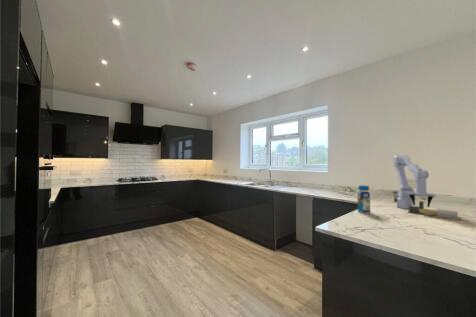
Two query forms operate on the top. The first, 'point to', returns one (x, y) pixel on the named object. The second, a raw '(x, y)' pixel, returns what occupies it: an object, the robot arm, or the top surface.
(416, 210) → the socket
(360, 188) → the beverage bottle
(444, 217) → the base board
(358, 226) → the top surface
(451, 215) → the sleeve
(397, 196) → the food container
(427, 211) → the inner sliding bolt
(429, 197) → the robot arm
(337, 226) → the top surface
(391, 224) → the top surface
